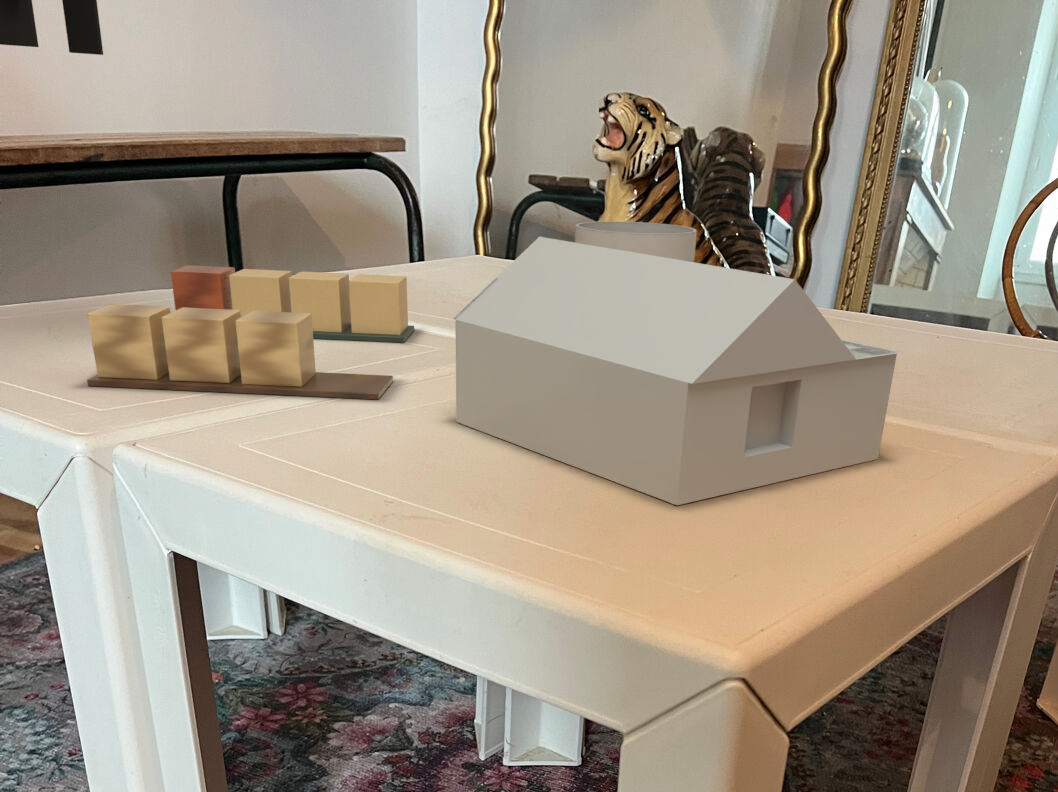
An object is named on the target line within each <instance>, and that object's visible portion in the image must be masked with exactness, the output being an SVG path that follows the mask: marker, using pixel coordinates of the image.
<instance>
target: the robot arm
mask: <svg viewBox="0 0 1058 792" xmlns="http://www.w3.org/2000/svg"><path fill="white" fill-rule="evenodd" d="M61 2H62V9H63V16H64V23H65V30H66V31H65V32H66V38H67V45H68V53H72V54H85V55H97V56H98V55H99V56H104V49H103V48H104V47H103V40H102V33H101V25H100V17H99V16H100V15H99V8H98V0H61ZM0 45H2V46H13V47H14V46H15V47H30V48H39V41H38V33H37V25H36V20H35V12H34V6H33V0H0Z"/></svg>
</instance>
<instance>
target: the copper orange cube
mask: <svg viewBox="0 0 1058 792" xmlns="http://www.w3.org/2000/svg"><path fill="white" fill-rule="evenodd" d="M233 273H236V269H235V267H234V266H211V265H189V264H187V265H185V266H182V267H178V268H176V269H173V270H171V271H170V276H171V277H170V278H171V284H172V293H173V294H172V295H173V301H174V309H175V311H176V310H178V309H180V308H182V307H184V308H206V309H228V310H233V308H232V298H231V288H230V279H229V275H231V274H233Z"/></svg>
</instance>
